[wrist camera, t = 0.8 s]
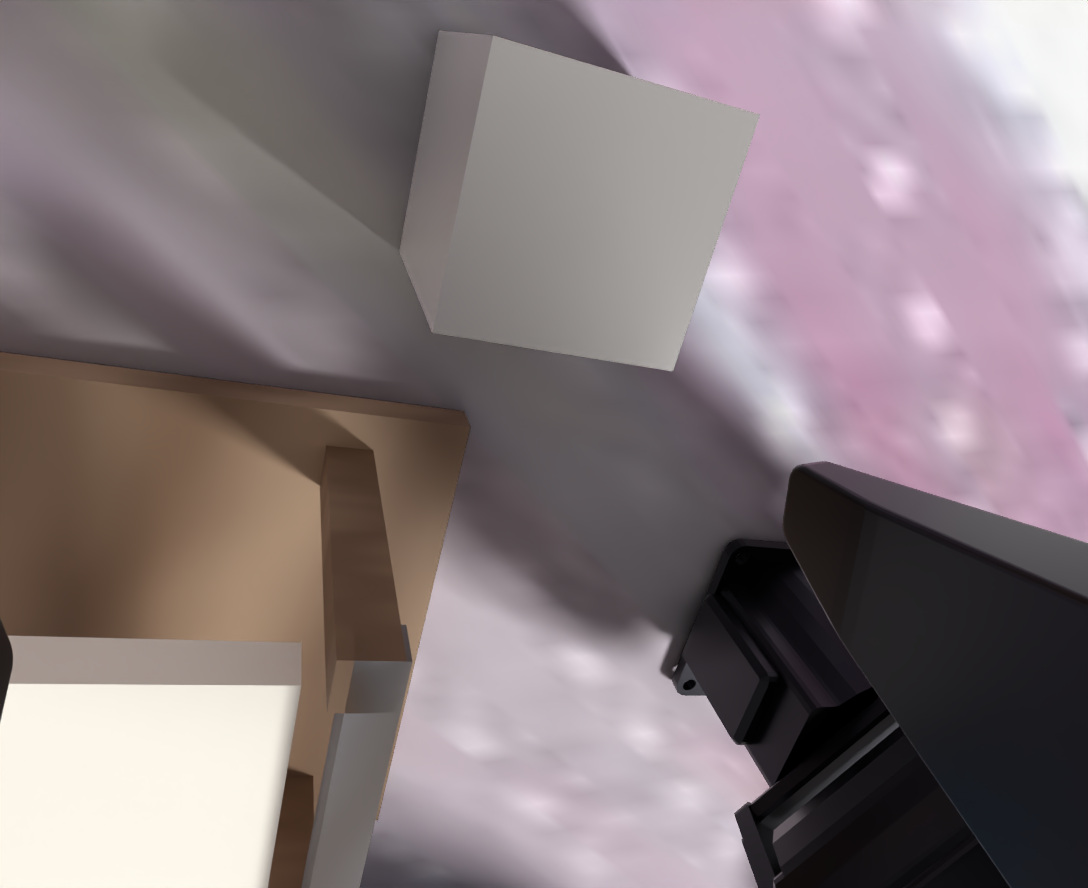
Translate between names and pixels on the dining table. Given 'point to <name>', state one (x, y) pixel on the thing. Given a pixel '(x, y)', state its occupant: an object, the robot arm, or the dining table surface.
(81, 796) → the trapdoor
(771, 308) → the dining table surface
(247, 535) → the trapdoor stand
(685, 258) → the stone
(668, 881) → the dining table surface
